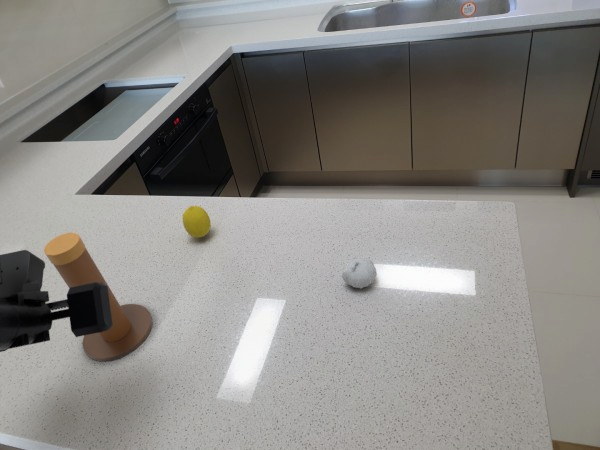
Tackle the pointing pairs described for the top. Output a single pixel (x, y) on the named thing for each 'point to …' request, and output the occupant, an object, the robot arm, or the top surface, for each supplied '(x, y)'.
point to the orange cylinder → (84, 277)
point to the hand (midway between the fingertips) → (69, 316)
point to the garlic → (359, 273)
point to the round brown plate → (125, 345)
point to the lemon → (196, 221)
